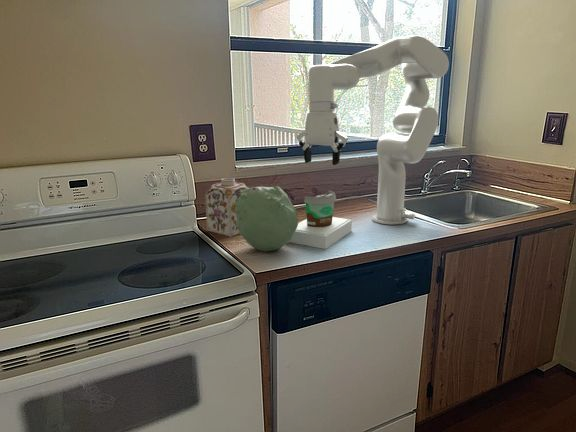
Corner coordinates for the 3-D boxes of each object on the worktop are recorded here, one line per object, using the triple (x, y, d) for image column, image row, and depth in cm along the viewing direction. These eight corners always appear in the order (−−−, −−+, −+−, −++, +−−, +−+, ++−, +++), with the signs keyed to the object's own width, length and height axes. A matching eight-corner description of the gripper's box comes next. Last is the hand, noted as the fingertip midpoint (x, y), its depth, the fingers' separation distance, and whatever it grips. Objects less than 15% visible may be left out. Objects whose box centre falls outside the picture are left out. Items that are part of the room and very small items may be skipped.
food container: (318, 231, 141) (318, 199, 138) (303, 226, 145) (304, 196, 142) (343, 222, 149) (344, 193, 146) (329, 219, 153) (329, 190, 150)
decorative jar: (206, 231, 156) (203, 179, 151) (229, 223, 165) (227, 174, 160) (231, 237, 149) (228, 184, 144) (254, 228, 158) (253, 178, 153)
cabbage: (305, 255, 133) (305, 188, 127) (241, 262, 128) (239, 193, 122) (289, 238, 147) (289, 178, 142) (232, 244, 142) (229, 182, 137)
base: (351, 231, 154) (351, 219, 153) (325, 248, 138) (325, 235, 137) (314, 225, 161) (315, 213, 160) (286, 241, 145) (285, 228, 143)
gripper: (352, 107, 137) (351, 163, 142) (302, 106, 145) (303, 159, 150) (342, 108, 131) (341, 167, 136) (290, 108, 139) (292, 163, 144)
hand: (321, 163), depth 143 cm, fingers open, 9 cm apart
